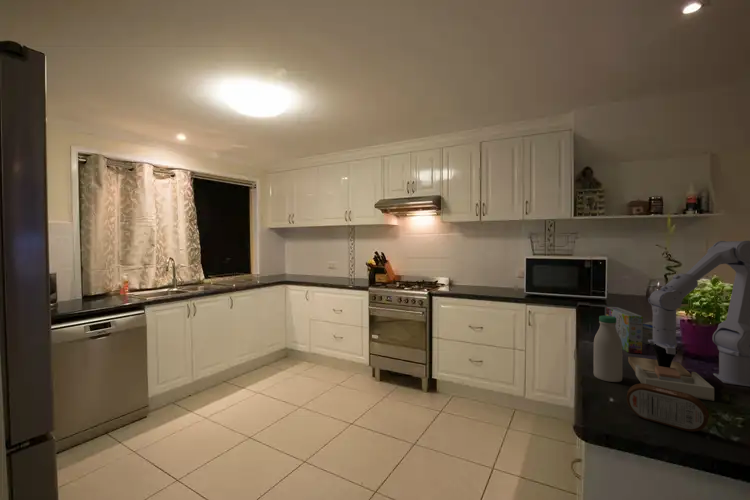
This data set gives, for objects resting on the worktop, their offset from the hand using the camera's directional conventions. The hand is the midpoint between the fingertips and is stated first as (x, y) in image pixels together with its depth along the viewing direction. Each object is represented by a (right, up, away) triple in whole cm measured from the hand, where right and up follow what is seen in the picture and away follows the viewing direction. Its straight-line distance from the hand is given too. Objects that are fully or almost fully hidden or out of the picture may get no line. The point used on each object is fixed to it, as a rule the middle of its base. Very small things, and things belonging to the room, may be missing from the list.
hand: (664, 370), depth 108 cm
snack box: (+13, -2, +35) cm, 37 cm away
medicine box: (+28, -2, +38) cm, 47 cm away
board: (+3, -3, +6) cm, 7 cm away
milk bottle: (-18, -3, +1) cm, 18 cm away
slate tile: (-4, -2, -7) cm, 9 cm away
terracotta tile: (-2, -1, -3) cm, 3 cm away
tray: (-3, -3, -6) cm, 8 cm away
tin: (-23, -4, -27) cm, 35 cm away
